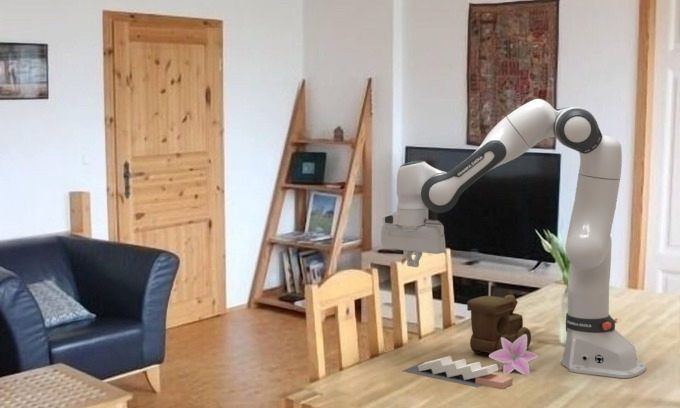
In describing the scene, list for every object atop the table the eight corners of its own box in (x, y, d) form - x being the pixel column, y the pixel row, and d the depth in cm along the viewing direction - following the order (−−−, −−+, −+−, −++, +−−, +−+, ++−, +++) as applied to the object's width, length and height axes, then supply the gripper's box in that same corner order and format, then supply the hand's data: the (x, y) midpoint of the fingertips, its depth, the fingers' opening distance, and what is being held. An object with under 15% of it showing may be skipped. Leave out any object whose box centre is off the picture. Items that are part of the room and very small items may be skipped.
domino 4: (474, 375, 247) (498, 369, 242) (464, 380, 243) (488, 374, 238) (472, 369, 247) (496, 363, 242) (462, 374, 243) (486, 368, 238)
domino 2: (443, 369, 253) (466, 364, 248) (433, 374, 250) (456, 369, 244) (441, 364, 254) (464, 358, 248) (431, 368, 250) (454, 363, 245)
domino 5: (485, 378, 245) (512, 384, 240) (475, 383, 241) (502, 389, 236) (485, 372, 245) (512, 378, 240) (475, 377, 241) (502, 383, 236)
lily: (482, 375, 253) (487, 350, 248) (501, 349, 261) (505, 325, 256) (523, 394, 248) (528, 369, 243) (540, 367, 256) (546, 342, 251)
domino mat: (497, 379, 246) (497, 377, 245) (477, 389, 238) (477, 387, 238) (422, 364, 261) (422, 362, 261) (401, 373, 253) (401, 371, 253)
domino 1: (429, 367, 256) (452, 361, 251) (419, 371, 252) (442, 365, 247) (427, 361, 256) (450, 355, 251) (417, 365, 253) (440, 360, 248)
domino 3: (457, 372, 250) (481, 367, 245) (447, 377, 247) (471, 371, 241) (455, 367, 251) (479, 361, 245) (445, 371, 247) (469, 366, 242)
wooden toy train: (497, 363, 261) (497, 305, 259) (464, 356, 269) (464, 300, 267) (534, 348, 276) (534, 293, 274) (501, 341, 283) (501, 288, 281)
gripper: (449, 219, 257) (450, 268, 259) (390, 214, 270) (391, 261, 272) (437, 222, 252) (437, 272, 254) (377, 217, 266) (378, 264, 267)
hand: (413, 266), depth 263 cm, fingers closed
